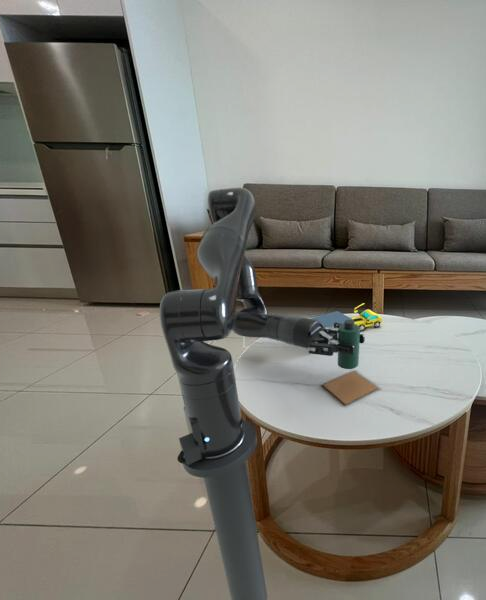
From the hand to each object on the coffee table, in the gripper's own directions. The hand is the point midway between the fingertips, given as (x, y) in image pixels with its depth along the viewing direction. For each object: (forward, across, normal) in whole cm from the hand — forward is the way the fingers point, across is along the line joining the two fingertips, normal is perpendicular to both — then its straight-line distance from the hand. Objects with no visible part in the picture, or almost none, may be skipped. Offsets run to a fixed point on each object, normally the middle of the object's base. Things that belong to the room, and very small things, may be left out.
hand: (358, 344), depth 79 cm
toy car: (-14, +36, +14) cm, 41 cm away
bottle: (-3, 0, +6) cm, 7 cm away
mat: (-2, 0, +13) cm, 13 cm away
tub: (-20, +20, +13) cm, 31 cm away
